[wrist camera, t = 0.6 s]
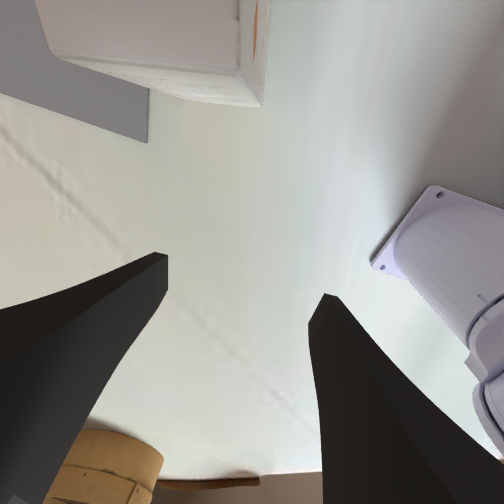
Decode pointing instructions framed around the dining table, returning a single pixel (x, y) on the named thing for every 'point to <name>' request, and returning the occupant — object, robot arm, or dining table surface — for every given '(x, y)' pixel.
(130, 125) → the mat
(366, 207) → the dining table surface
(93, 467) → the steamer basket
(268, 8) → the small box
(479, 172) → the dining table surface
